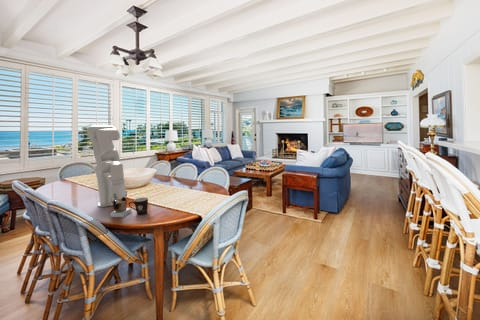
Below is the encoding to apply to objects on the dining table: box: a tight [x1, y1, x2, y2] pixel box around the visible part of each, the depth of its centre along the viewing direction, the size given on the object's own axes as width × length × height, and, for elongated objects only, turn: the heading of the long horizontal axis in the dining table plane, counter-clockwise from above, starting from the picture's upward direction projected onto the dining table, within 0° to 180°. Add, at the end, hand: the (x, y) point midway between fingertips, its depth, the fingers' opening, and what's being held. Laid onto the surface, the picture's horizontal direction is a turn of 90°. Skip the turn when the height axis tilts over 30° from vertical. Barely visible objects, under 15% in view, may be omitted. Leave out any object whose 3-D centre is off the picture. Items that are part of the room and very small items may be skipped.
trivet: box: [109, 207, 132, 218], centre depth 153 cm, size 9×9×3 cm
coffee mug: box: [128, 197, 149, 216], centre depth 153 cm, size 12×9×10 cm
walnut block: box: [114, 200, 127, 212], centre depth 152 cm, size 5×5×6 cm
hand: (120, 206), depth 152 cm, fingers open, 8 cm apart
